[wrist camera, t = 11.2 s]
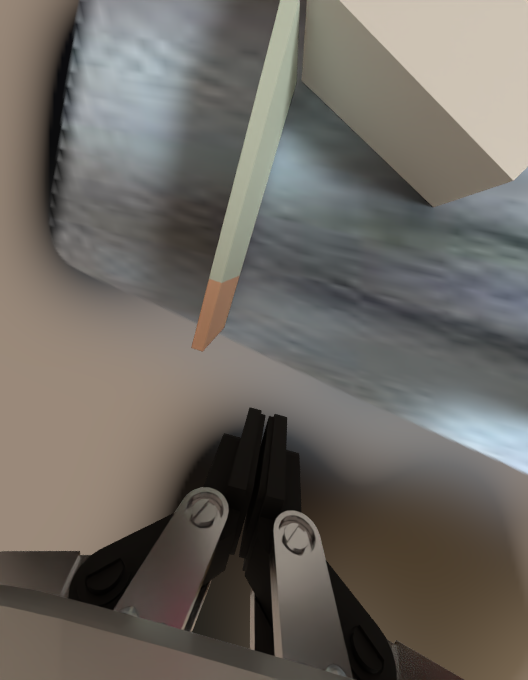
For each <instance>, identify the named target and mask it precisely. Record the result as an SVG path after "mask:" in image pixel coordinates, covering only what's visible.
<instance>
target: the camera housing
mask: <svg viewBox="0 0 528 680" xmlns="http://www.w3.org/2000/svg"><path fill="white" fill-rule="evenodd" d="M302 82H303V83H305V84H306V85H307V86H308V87H309V88H310V89H311V90H312V91H313V92H314V93H315V94H316V95H317V96H318V97H319V98H320V99H321V100H322V101H323V102H324V103H325V104H326V105H327V106H328V107H330V108H331V109H332V110H333V111H334V112H335V113H336V114H337V115H338V116H339V117H340V118H341V119H342V120H343V121H344V122H345V123H346V124H347V125H348V126H349V127H350V128H351V129H352V130H353V131H355V132H356V133H357V134H358V135H359V136H360V137H361V138H362V139H363V140H364V141H365V142H366V143H367V144H368V145H369V146H370V147H371V148H372V149H373V150H374V151H375V152H376V153H377V154H378V155H380V156H381V157H382V158H383V159H384V160H385V161H386V162H387V163H388V164H389V165H390V166H391V167H392V168H393V169H394V170H395V171H396V172H397V173H398V174H399V175H400V176H401V177H402V178H403V179H404V180H406V181H407V182H408V183H409V184H410V185H411V186H412V187H413V188H414V189H415V190H416V191H417V192H418V193H419V194H420V195H421V196H422V197H423V198H424V199H425V200H426V201H427V202H428V203H429V204H431V205H432V206H433V207H436V206H439V205H442V204H445V203H448V202H451V201H454V200H457V199H460V198H463V197H466V196H469V195H472V194H475V193H478V192H481V191H484V190H487V189H490V188H493V187H496V186H499V185H502V184H505V183H508V182H511V181H514V180H515V179H516V178H517V177H518V176H519V175H520V174H521V173H522V172H523V171H524V170H525V169H526V168H527V167H528V0H307V7H306V22H305V37H304V52H303V67H302Z"/></svg>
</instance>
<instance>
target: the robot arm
mask: <svg viewBox="0 0 528 680" xmlns="http://www.w3.org/2000/svg"><path fill="white" fill-rule="evenodd" d="M264 421H265V415H263V414H261V410H258V409H254V408H249V411H248V415H247V419H246V422H245V426H244V429H243V433H242V437H241V438H240V437H236V436H232V435H229V434H224V435H223V437H222V440H221V442H220V445H219V447H218V450H217V453H216V455H215V458H214V460H213V463H212V466H211V468H210V471H209V474H208V476H207V479H206V482H205V484H204V487H203V488H199V489H195V490H193V491H192V492H190V493H189V494H188V495H187V496H186V497H185V498H184V499H183V501H182V503H181V504H180V506H179V507H178V509H177V510H176V512H175V513H173V514H171V515H169V516H167V517H165V518H163V519H161V520H159V521H157V522H155V523H153V524H151V525H149V526H147V527H145V528H143V529H141V530H138V531H136V532H134V533H132V534H130V535H128V536H127V537H124V538H122V539H120V540H118V541H116V542H114V543H112V544H110V545H108V546H106V547H104V548H102V549H100V550H98V551H97V552H95V553H94V554H92V555H80V551H2V552H0V680H464V679H462V678H460V677H459V676H457V675H455V674H453V673H452V672H450V671H448V670H447V669H445V668H443V667H441V666H440V665H438V664H436V663H434V662H433V661H431V660H429V659H428V658H426V657H424V656H422V655H421V654H419V653H417V652H416V651H414V650H412V649H411V648H409V647H407V646H405V645H404V644H402V643H400V642H399V641H397V640H396V641H395V643H392V642H390V641H388V640H387V639H386V637H385V636H384V634H383V633H382V631H381V630H380V628H379V627H378V626H377V624H376V623H375V622H374V620H373V619H372V618H371V617H370V615H369V614H368V613H367V612H366V610H365V609H364V608H363V606H362V605H361V604H360V603H359V601H358V600H357V599H356V598H355V597H354V595H353V594H352V593H351V591H350V590H349V589H348V587H347V586H346V585H345V584H344V582H343V581H342V580H341V579H340V577H339V576H338V575H337V574H336V572H335V571H334V570H333V568H332V567H331V566H330V565H329V563H328V562H327V561H326V560H325V556H324V551H323V547H322V543H321V539H320V535H319V532H318V530H317V528H316V526H315V525H314V523H313V522H312V521H311V520H310V519H309V518H308V517H307V516H306V515H304V514H302V513H301V489H300V464H299V463H300V462H299V453H296V452H292V451H288V450H286V436H287V417H284V416H280V415H277V414H275V415H274V417H271V416H269V418H268V422H267V425H266V429H265V432H264V436H263V439H262V433H263V427H264ZM261 439H262V443H261ZM260 445H261V446H260ZM245 517H246V519H245ZM244 520H245V524H244V530H243V536H242V541H241V547H240V552H239V557H241V558H244V564H243V571H245V577H246V579H247V580H248V582H249V584H250V586H251V596H250V649H248V648H244V647H241V646H237V645H234V644H230V643H227V642H223V641H220V640H216V639H213V638H209V637H206V636H202V635H199V634H195V633H192V630H193V628H194V625H195V622H196V619H197V617H198V614H199V612H200V609H201V607H202V604H203V601H204V599H205V596H206V593H207V591H208V588H209V586H210V581H211V580H212V579H213V578H215V577H216V576H217V575H219V574H220V573H221V572H223V571H224V570H225V568H226V564H227V561H228V557H229V554H231V555H234V554H235V551H236V547H237V544H238V540H239V537H240V534H241V530H242V526H243V523H244Z"/></svg>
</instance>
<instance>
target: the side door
mask: <svg viewBox="0 0 528 680" xmlns="http://www.w3.org/2000/svg"><path fill="white" fill-rule="evenodd" d="M299 10H300V0H280V4H279V8H278V12H277V15H276V19H275V23H274V27H273V31H272V35H271V39H270V43H269V47H268V51H267V54H266V58H265V62H264V66H263V70H262V74H261V78H260V82H259V86H258V90H257V93H256V97H255V101H254V105H253V109H252V113H251V117H250V121H249V125H248V129H247V132H246V136H245V140H244V144H243V148H242V152H241V156H240V160H239V164H238V168H237V172H236V175H235V179H234V183H233V187H232V191H231V195H230V199H229V203H228V207H227V211H226V214H225V218H224V222H223V226H222V230H221V234H220V238H219V242H218V246H217V250H216V253H215V257H214V261H213V265H212V269H211V273H210V277H209V281H208V285H207V289H206V292H205V296H204V300H203V304H202V308H201V312H200V316H199V320H198V324H197V328H196V332H195V336H194V339H193V343H192V348H194V349H197V350H200V351H204V349H205V348H206V347H207V346H208V345H209V344H210V343H211V342H212V341H213V339H214V338H215V337H216V336H217V335H218V334H219V333H220V332H221V331H222V330H223V328H224V327H225V323H226V320H227V317H228V313H229V310H230V306H231V303H232V300H233V296H234V293H235V289H236V286H237V283H238V279H239V276H240V273H241V269H242V266H243V262H244V259H245V256H246V252H247V249H248V245H249V242H250V239H251V235H252V232H253V229H254V225H255V222H256V218H257V215H258V212H259V208H260V205H261V201H262V198H263V195H264V191H265V188H266V185H267V181H268V178H269V174H270V171H271V168H272V164H273V161H274V157H275V154H276V151H277V147H278V144H279V141H280V137H281V134H282V130H283V127H284V124H285V120H286V117H287V113H288V110H289V107H290V103H291V100H292V97H293V93H294V90H295V86H296V83H297V61H298V36H299Z"/></svg>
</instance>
